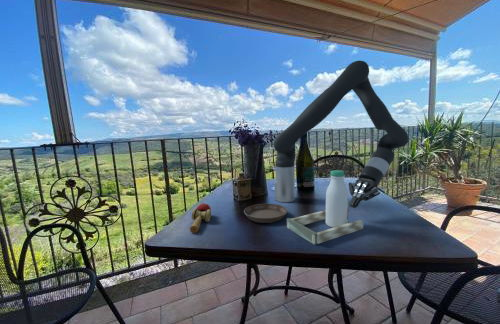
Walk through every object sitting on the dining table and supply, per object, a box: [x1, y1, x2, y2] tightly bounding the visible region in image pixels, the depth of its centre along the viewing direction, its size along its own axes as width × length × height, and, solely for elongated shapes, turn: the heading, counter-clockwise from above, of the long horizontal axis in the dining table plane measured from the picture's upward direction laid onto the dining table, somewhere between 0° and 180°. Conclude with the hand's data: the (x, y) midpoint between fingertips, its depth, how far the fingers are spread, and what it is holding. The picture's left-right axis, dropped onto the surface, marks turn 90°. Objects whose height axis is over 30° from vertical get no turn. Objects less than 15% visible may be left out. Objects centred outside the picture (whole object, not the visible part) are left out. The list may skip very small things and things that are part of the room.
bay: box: [286, 209, 364, 246], centre depth 80 cm, size 22×14×4 cm, turn 117°
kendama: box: [189, 202, 212, 234], centre depth 89 cm, size 8×6×18 cm
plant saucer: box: [243, 203, 288, 224], centre depth 94 cm, size 18×18×3 cm
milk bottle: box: [325, 169, 350, 228], centre depth 82 cm, size 8×8×20 cm
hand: (352, 206), depth 86 cm, fingers closed
